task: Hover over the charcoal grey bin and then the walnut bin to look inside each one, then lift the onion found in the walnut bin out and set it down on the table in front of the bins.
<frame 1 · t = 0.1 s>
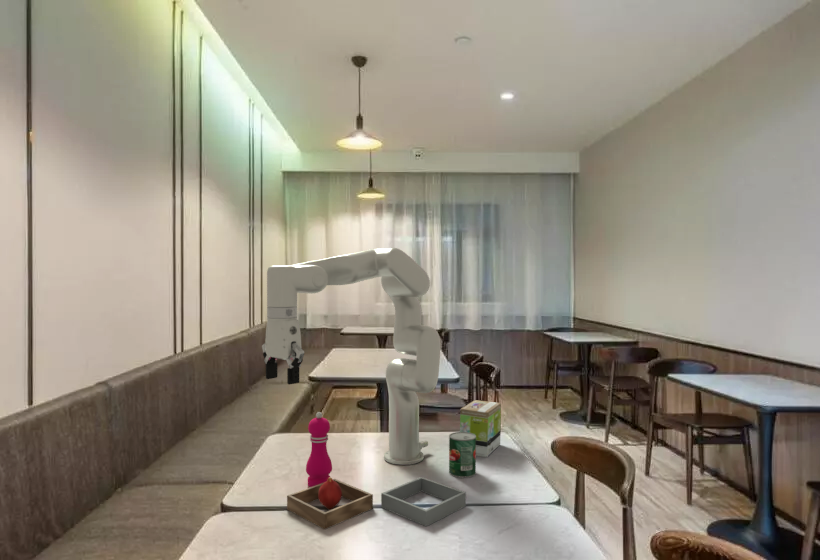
hand: (282, 380, 137), 31 cm above the table, tool pointing down, fingers open, 9 cm apart
tea box: (480, 449, 179), on the table
pepper mill: (319, 484, 149), on the table
grey bin: (423, 506, 135), on the table
canned tomato: (462, 473, 158), on the table
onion: (330, 509, 133), resting in walnut bin
walnut bin: (330, 509, 133), on the table
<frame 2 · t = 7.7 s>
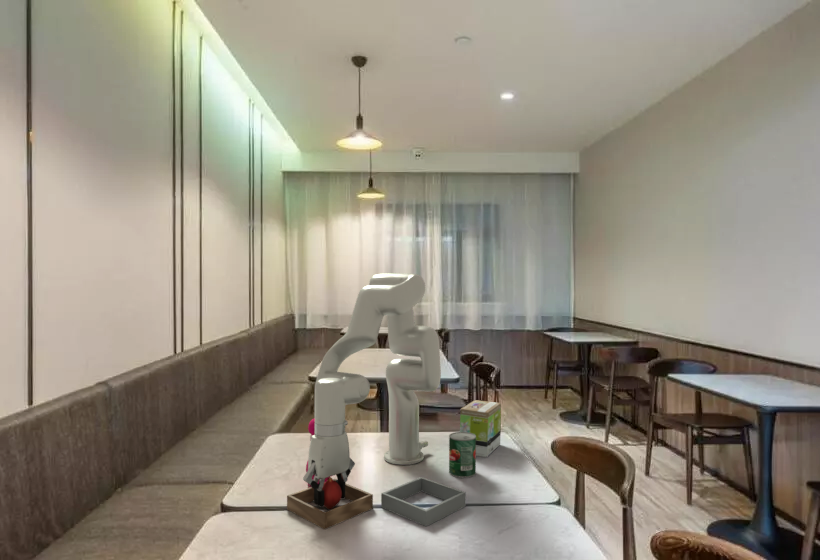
hand: (329, 500, 133), 2 cm above the table, tool pointing down, fingers closed on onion, 5 cm apart
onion: (330, 509, 133), resting in walnut bin, touching gripper
everything else where it was.
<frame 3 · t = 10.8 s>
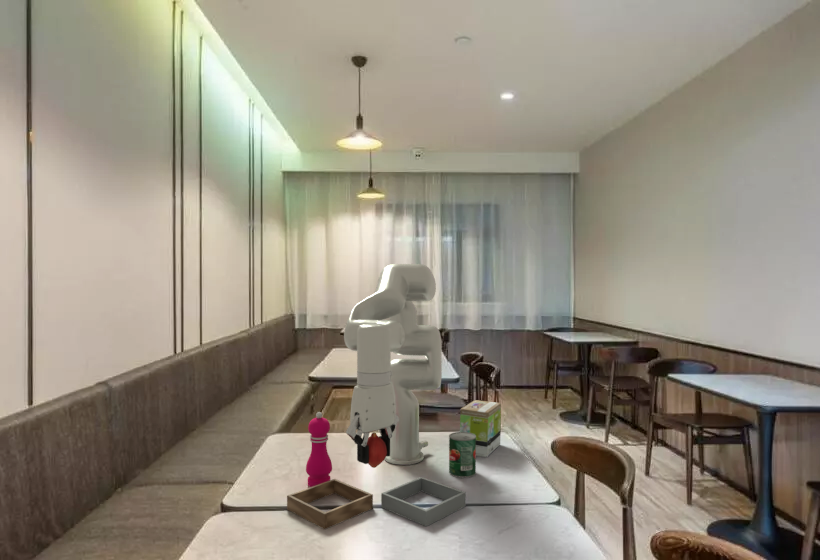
hand: (373, 457, 121), 17 cm above the table, tool pointing down, fingers closed on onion, 5 cm apart
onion: (373, 468, 121), point 15 cm above the table, touching gripper
everything else where it was.
when the fingers open (3 cm above the table, at t = 14.1 s): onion drops 1 cm, on the table.
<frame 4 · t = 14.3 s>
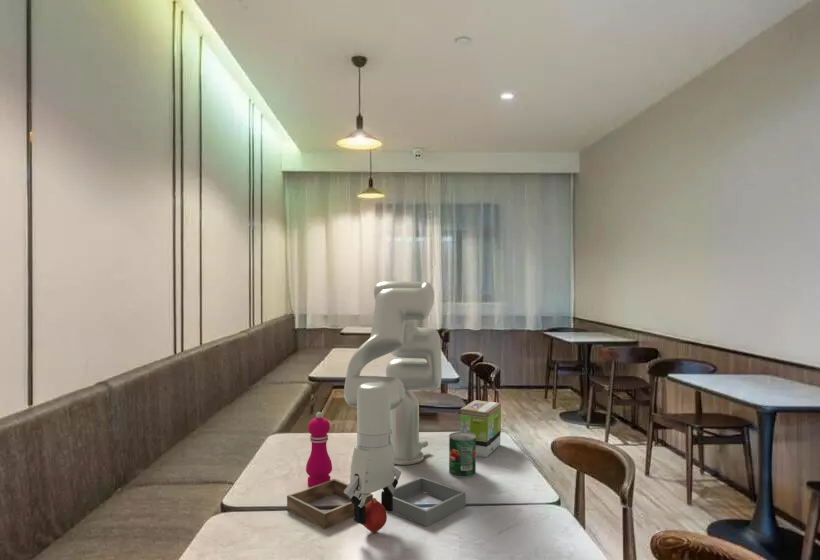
hand: (373, 515, 121), 4 cm above the table, tool pointing down, fingers open, 7 cm apart
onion: (374, 533, 121), on the table
everything else where it was.
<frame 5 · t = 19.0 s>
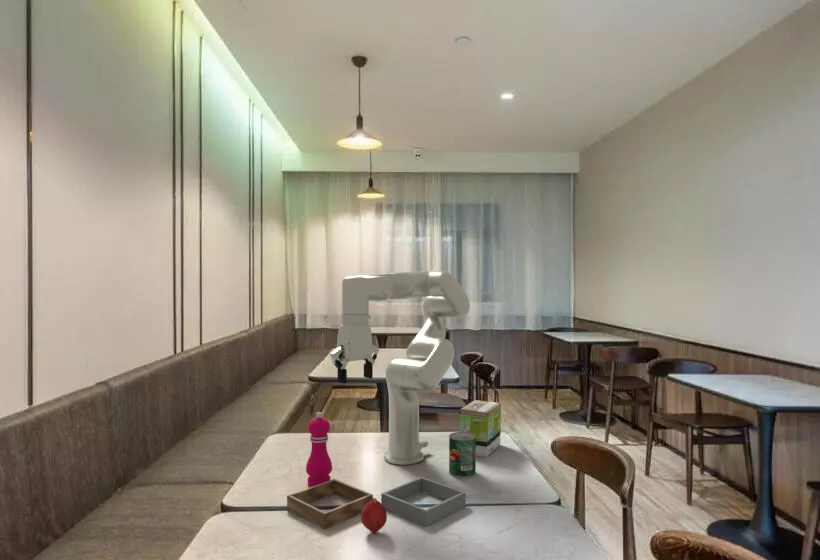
hand: (355, 380, 152), 28 cm above the table, tool pointing down, fingers open, 9 cm apart
nothing on the table moved.
at the end: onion inside the target area (0.3 cm from its centre), on the table; the gripper is holding nothing; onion moved 16.8 cm from its start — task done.
